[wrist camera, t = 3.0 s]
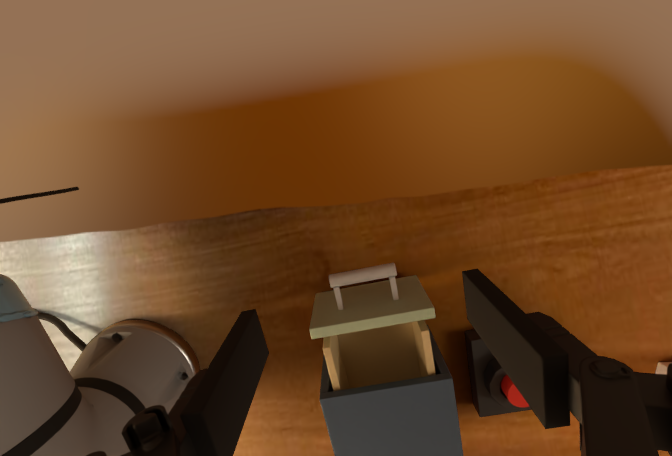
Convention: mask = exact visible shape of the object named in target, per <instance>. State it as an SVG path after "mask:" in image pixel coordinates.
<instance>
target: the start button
mask: <svg viewBox="0 0 672 456" xmlns="http://www.w3.org/2000/svg"><path fill="white" fill-rule="evenodd" d="M501 389H502V391H503V392H504V394H505V396H506V397H507V399H508V400H509V402H510V403H511V404H513V405H514V406H517V407H529V405H528V403H527V402H526V400H525V399H524V398H523V396H522V395H521V393H520V392H519V391H518V389H517V388H516V386H515V385H514V384H513V382H512V381H511V379H510V378H509V377H508V375H505V376H504V377H503V379H502V381H501Z"/></svg>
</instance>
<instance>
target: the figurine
mask: <svg viewBox="0 0 672 456" xmlns="http://www.w3.org/2000/svg"><path fill="white" fill-rule="evenodd" d="M670 363H672V362H658V365H657V369H656V372H655V374H665V375H667V368H668V365H669V364H670Z"/></svg>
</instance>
